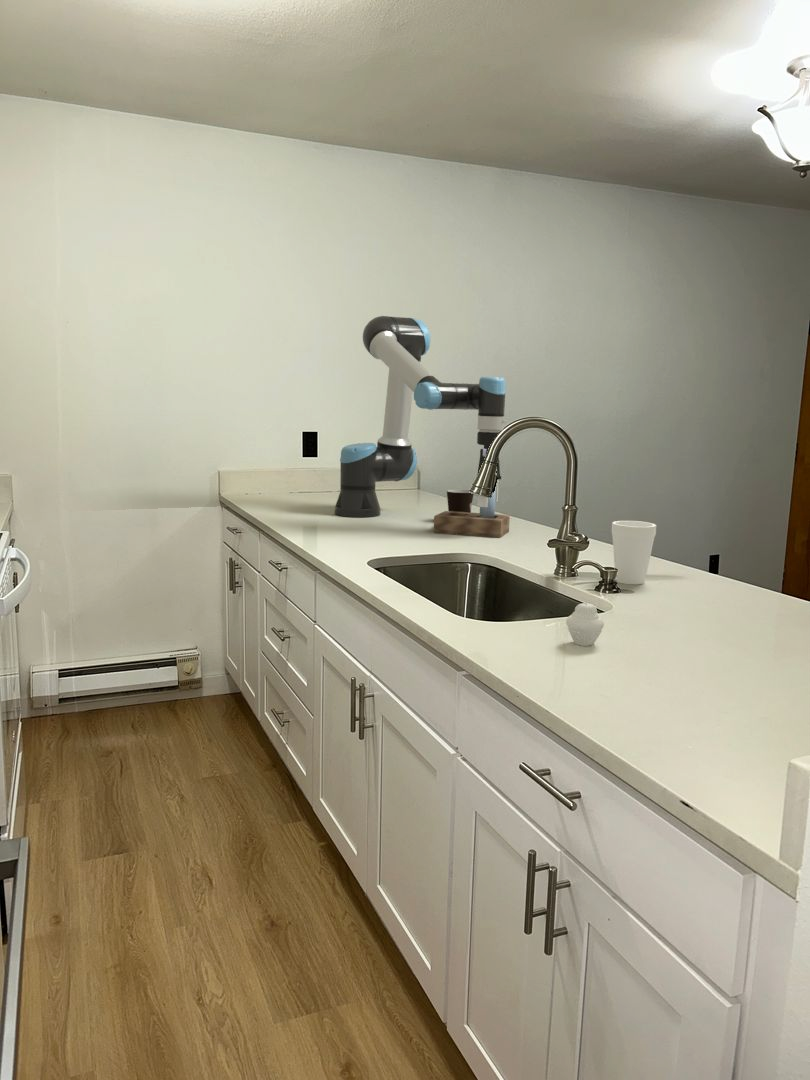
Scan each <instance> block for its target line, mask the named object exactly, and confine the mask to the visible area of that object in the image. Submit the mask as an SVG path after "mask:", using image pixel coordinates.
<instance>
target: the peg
mask: <svg viewBox="0 0 810 1080" xmlns="http://www.w3.org/2000/svg"><path fill="white" fill-rule="evenodd" d="M495 495H496V487H495V491H494V493H493V495H492V497H491V498H488V500H487V507H479V513H480V518H494V519H495V514H496V502H495Z"/></svg>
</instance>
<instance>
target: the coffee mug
mask: <svg viewBox="0 0 810 1080" xmlns="http://www.w3.org/2000/svg"><path fill="white" fill-rule="evenodd" d="M469 490H470V489H448V490H446V497H447V500H446V501H447V511H455V512H470V513H472V506H473V501H474V500H473V499H474V494H471V493H469Z"/></svg>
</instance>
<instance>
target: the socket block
mask: <svg viewBox="0 0 810 1080" xmlns="http://www.w3.org/2000/svg"><path fill="white" fill-rule="evenodd" d="M510 517H511V516H510V514H497V513H495V519H494V518H480V512H471V513H470V512H455V511H448V510H445V511H442V512H440V513H437V514H435V515H434V516H433V533H434V534H445V535H446V534H447V535H456V534H457V536H458V535H459V536H470V535H472V537H487V538H498V539H501V538H503V537H504V536H505V535H506V534H507V533H509V532H510Z"/></svg>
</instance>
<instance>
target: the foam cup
mask: <svg viewBox="0 0 810 1080" xmlns="http://www.w3.org/2000/svg"><path fill="white" fill-rule="evenodd" d="M611 534H612V548H613V561H614V562H613V563H614V565H613V566H614V569H615V568H617V569H618V575H617V581H616V582H617V583H620V584H626V585H642V584H645V582H646V579H647V576H648V575H647V574H648V570H649V563H650V560H651V559H650V558H651V556H652V550H653V545H654V541H655V537H656V536H657V524H655V523H652V522H648V521H639V520H617V521H616V520H614V521H612V524H611Z"/></svg>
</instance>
